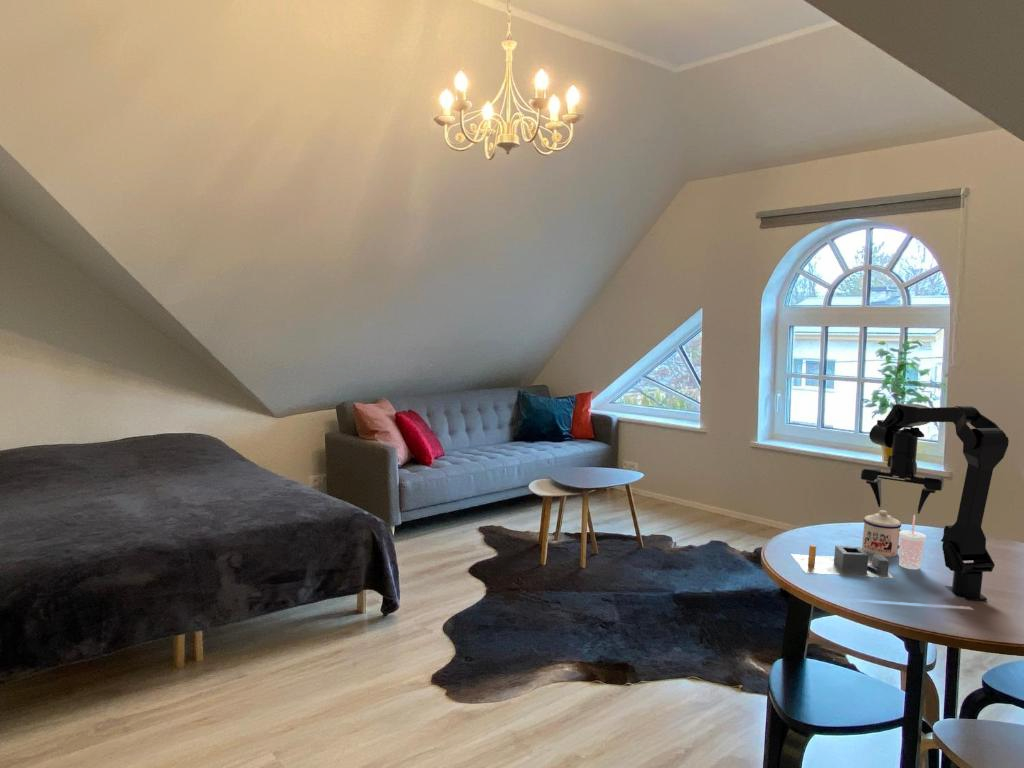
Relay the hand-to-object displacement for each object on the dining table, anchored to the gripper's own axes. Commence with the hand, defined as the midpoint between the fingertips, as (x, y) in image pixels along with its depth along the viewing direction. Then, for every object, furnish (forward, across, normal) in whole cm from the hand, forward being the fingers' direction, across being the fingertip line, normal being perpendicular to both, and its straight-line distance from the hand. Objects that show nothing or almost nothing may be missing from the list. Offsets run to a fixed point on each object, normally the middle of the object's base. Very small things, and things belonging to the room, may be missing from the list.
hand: (898, 510), depth 196 cm
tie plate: (+13, +10, +17) cm, 24 cm away
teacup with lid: (+13, +3, -2) cm, 14 cm away
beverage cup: (+13, -4, +6) cm, 15 cm away
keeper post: (+13, +16, +22) cm, 30 cm away
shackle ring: (+13, +8, +17) cm, 22 cm away
